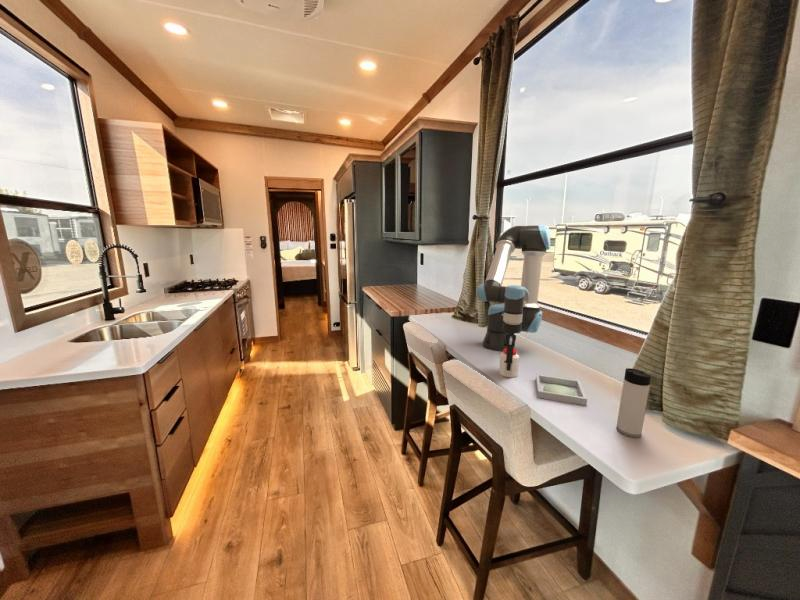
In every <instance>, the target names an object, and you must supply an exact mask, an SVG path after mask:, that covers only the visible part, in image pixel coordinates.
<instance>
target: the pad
mask: <svg viewBox="0 0 800 600" xmlns="http://www.w3.org/2000/svg"><path fill="white" fill-rule="evenodd" d="M542 389H543V391H547V392H553V393H560V394H566V395H572V396H576V393H575V391H574V390H573V389H572V388H569V386H568V387H567V386H566V385H560V384H553V383H548V384H546V385H544V386H543V388H542Z"/></svg>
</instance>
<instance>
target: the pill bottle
mask: <svg viewBox="0 0 800 600" xmlns="http://www.w3.org/2000/svg"><path fill="white" fill-rule="evenodd" d="M506 356H507V347H506V348H504V349H503V351H501V352H500V357H499V364H498V365H499V369H498V374H500V375H501V376H504V377H505V364H506V363H504V361H506ZM512 362H513V363H512V375H511V378H515V377H517V376H518V375H519V363H520V355H519V354H518V349H516V348H515V347H513V359H512Z"/></svg>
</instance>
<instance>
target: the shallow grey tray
mask: <svg viewBox="0 0 800 600" xmlns="http://www.w3.org/2000/svg"><path fill="white" fill-rule="evenodd" d="M541 383H548V384H556V385H562V386H566V387H567V386H568V387H575V388H576V389H577V393H578V394H579V396H578V395H575V396H572V395H566V394H560V393H553V392H547V391H544V390H542V388H541ZM535 385H536V387H535V388H536V395H537V398H540V399H545V400H551V401H556V402H561V403H569V404H575V405H581V406H588V405H587V404H588V398H587V394H586V392H585V390H584V388H583V385H582V383H581V380H577V379H571V378H565V377H559V376H557V377H556V376H550V375H545V374H535Z"/></svg>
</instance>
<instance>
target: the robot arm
mask: <svg viewBox="0 0 800 600" xmlns="http://www.w3.org/2000/svg"><path fill="white" fill-rule="evenodd" d="M550 248H551V231H550V228H549V226H547V225H539V224H538V225H515V226H512V227H509V228H508V229H506V230H505V231H503V233H502V234H501V235H500V236H499V237H498V239H497V240H496V243H495V253H494V255H493V258H492V260H491V264H490V267H489V270H488V274H487V276H486V277H485V282H484V283H482V284H481V283H480V284H479V285H478V286H477V287H476V298H477V299H478V300H479V301H483V302H492V303H495V304H492V305H489V307H488V312H487V324H486V325H487V327H486V333H485V334H484V335H485V336H484V338H483V340H482V346H483V347H484V348H486V349H488V350H493V351H499V352H503V349H504V348H506V347H507V356H506V361H504V363H506V364H505V376H504V378H509V379H510V378H512V377H511V375H512V363H513V362H512V359H513V348H515V346H516V340H517V335H516V334H520V333H521V332H525V333H528V334H529V333H531V334H535V333H537V332H538V331H539V328H540V326H541V322H542V319H543V311H542V310H540V309H541V306H540V305H539V304H538V299H539V292H540V282H541V281H540V280H541V271H542V263H543V257H544V256H545V255H546V254H547V250H548V251H549V250H551V249H550ZM516 249H518V250H519V249H521V254H522V255H523V263H522V264H523V265H522V275H521V280H520V281H521V283H520V284H521V285H516V284H515V285H514V284H512V285H506V286H505V285H504V286H503V285H502V284H503V281H504V277H505V275H506V272H507V269H508V265H509V263H510V259H511V255H512V253H514V252H515V250H516ZM496 303H497V304H496Z"/></svg>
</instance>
